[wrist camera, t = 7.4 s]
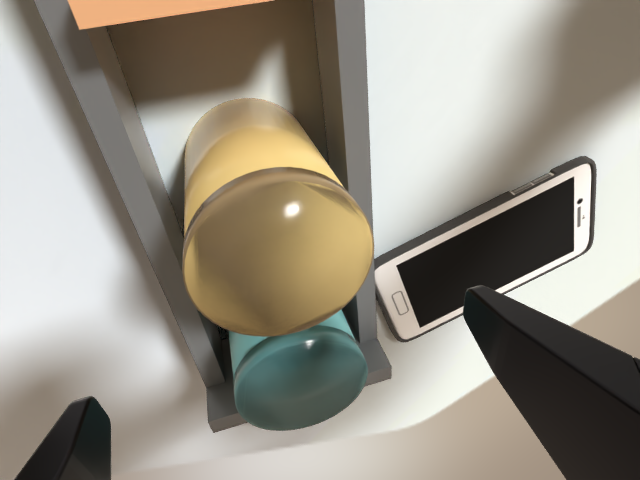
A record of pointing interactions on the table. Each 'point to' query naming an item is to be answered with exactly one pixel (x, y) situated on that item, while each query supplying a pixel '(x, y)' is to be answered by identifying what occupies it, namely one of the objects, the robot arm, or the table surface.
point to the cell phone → (488, 249)
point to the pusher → (141, 9)
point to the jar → (297, 375)
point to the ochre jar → (267, 224)
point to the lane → (151, 196)
